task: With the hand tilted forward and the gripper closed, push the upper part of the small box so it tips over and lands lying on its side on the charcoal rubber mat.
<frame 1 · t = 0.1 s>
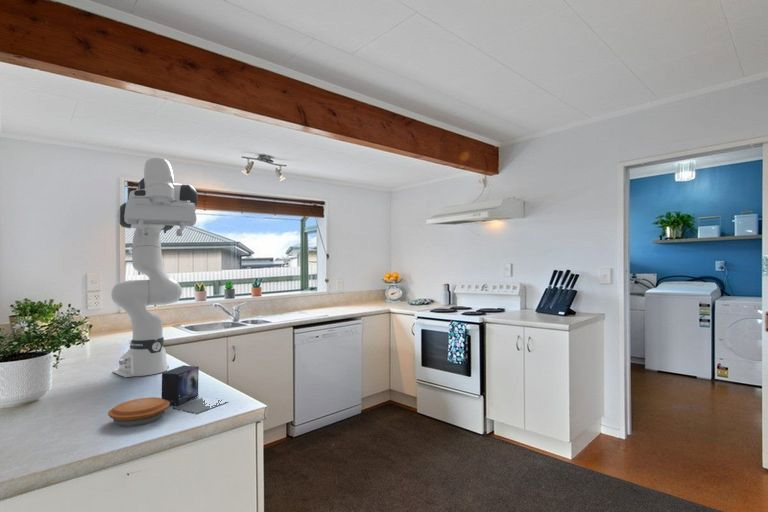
hand: (162, 234, 128), 54 cm above the worktop, tool tilted 30°, fingers open, 8 cm apart
rubber mat: (201, 405, 130), on the worktop
small box: (180, 401, 134), on the worktop
pie: (139, 420, 118), on the worktop
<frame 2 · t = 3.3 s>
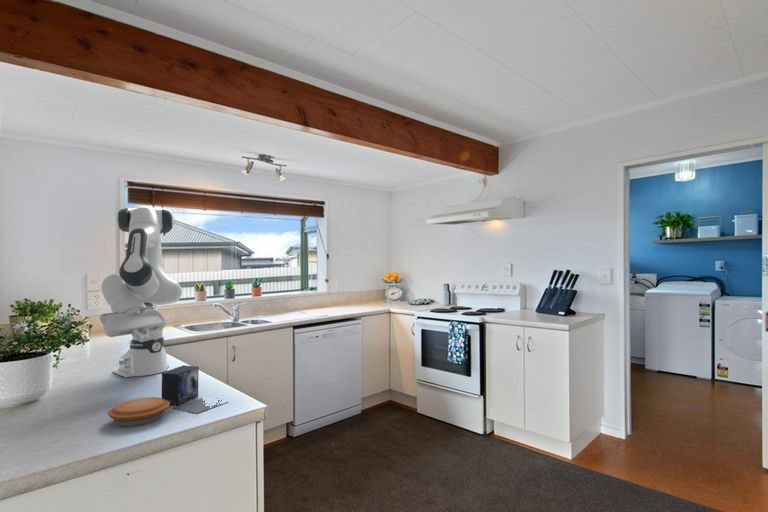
hand: (145, 340, 143), 18 cm above the worktop, tool tilted 45°, fingers closed
nothing on the worktop moved.
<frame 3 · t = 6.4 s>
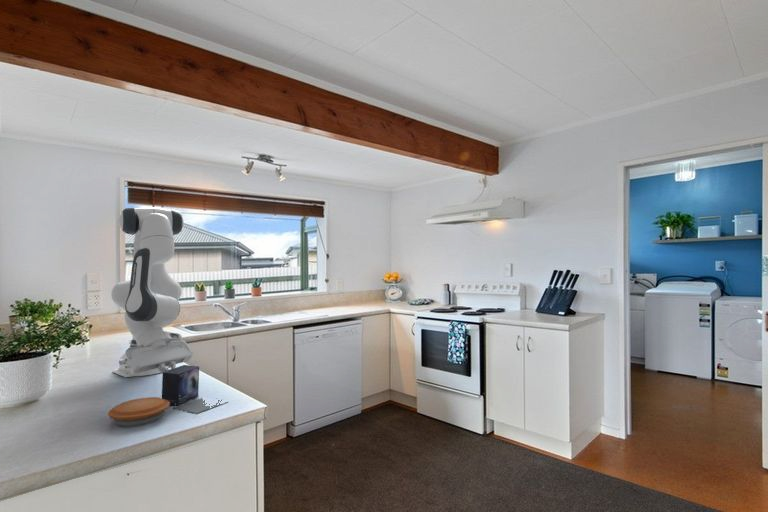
hand: (172, 374, 136), 8 cm above the worktop, tool tilted 45°, fingers closed
small box: (180, 401, 134), on the worktop, touching gripper
everything else where it was.
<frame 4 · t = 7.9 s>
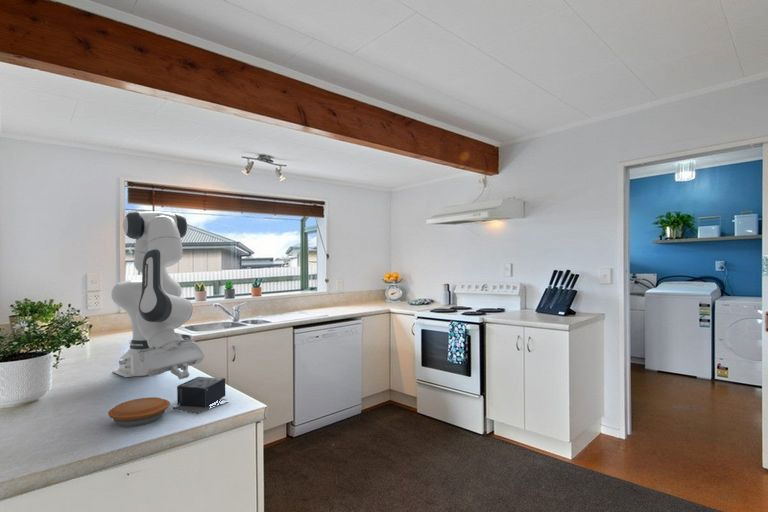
hand: (184, 377, 134), 8 cm above the worktop, tool tilted 45°, fingers closed
small box: (187, 390, 134), point 3 cm above the worktop, touching rubber mat
everything else where it was.
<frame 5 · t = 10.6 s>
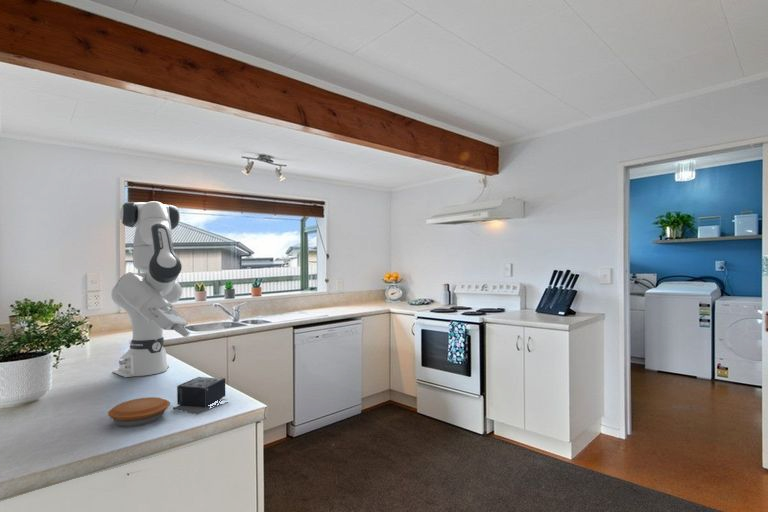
hand: (187, 335, 142), 20 cm above the worktop, tool tilted 50°, fingers closed
nothing on the worktop moved.
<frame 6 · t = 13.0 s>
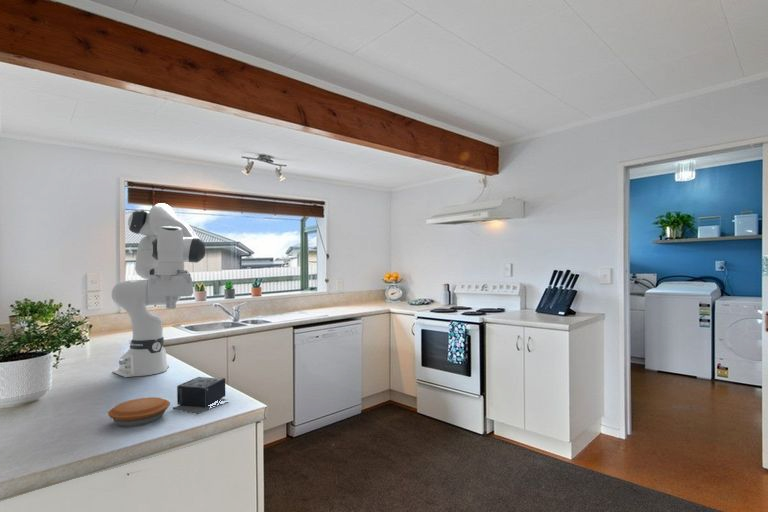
hand: (170, 308, 148), 29 cm above the worktop, tool pointing down, fingers closed
nothing on the worktop moved.
at the end: small box tilted 89°; small box inside the target area (3.1 cm from its centre), point 3.4 cm above the worktop; small box touching rubber mat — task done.
